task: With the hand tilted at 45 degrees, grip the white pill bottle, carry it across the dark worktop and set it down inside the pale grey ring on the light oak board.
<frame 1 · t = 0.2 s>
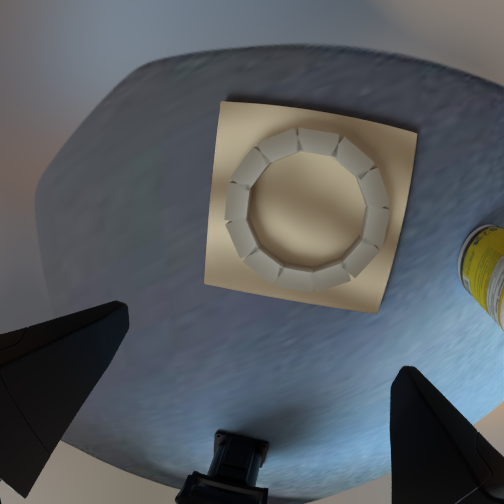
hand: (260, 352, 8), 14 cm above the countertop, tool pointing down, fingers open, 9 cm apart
collar board: (307, 208, 21), on the countertop
pill bottle: (482, 257, 19), on the countertop
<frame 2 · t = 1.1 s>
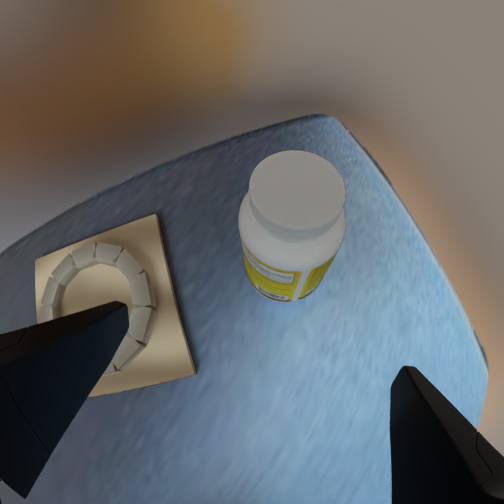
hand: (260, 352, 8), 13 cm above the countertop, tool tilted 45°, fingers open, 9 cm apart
collar board: (100, 311, 23), on the countertop
pill bottle: (284, 268, 24), on the countertop
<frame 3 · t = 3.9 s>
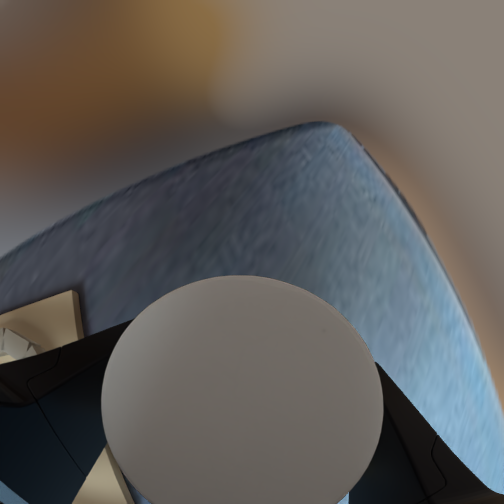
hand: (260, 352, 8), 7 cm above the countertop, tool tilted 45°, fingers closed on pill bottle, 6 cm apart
collar board: (22, 412, 13), on the countertop
pill bottle: (255, 387, 14), on the countertop, touching gripper
when the fingers open (9 cm above the countertop, at t = 7.5 s): pill bottle drops 1 cm, resting on collar board.
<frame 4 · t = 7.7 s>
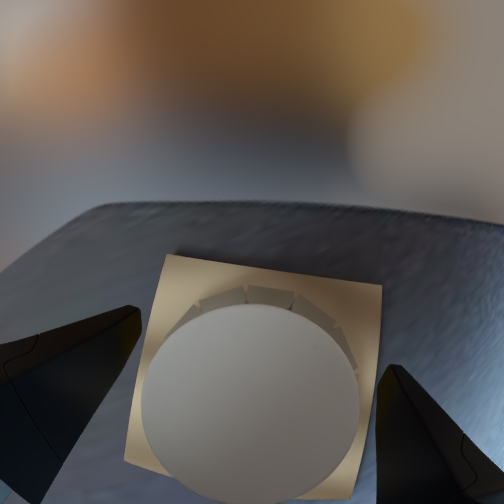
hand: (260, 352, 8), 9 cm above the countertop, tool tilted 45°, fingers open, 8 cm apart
collar board: (255, 384, 16), on the countertop
pill bottle: (252, 388, 16), point 1 cm above the countertop, touching collar board
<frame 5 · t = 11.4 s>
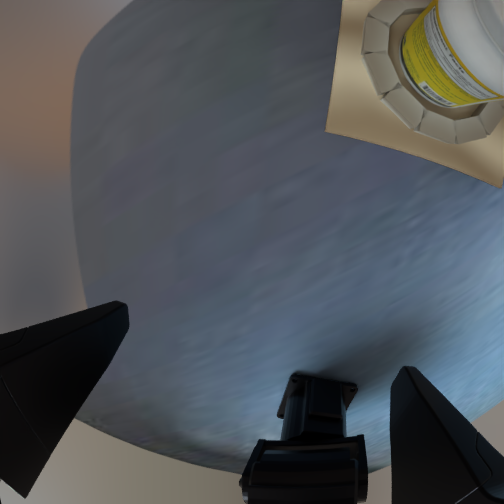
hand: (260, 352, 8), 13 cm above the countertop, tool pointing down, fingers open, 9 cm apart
collar board: (434, 66, 14), on the countertop
pill bottle: (436, 66, 14), point 1 cm above the countertop, touching collar board
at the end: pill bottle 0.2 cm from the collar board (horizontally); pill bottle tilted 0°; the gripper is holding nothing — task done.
